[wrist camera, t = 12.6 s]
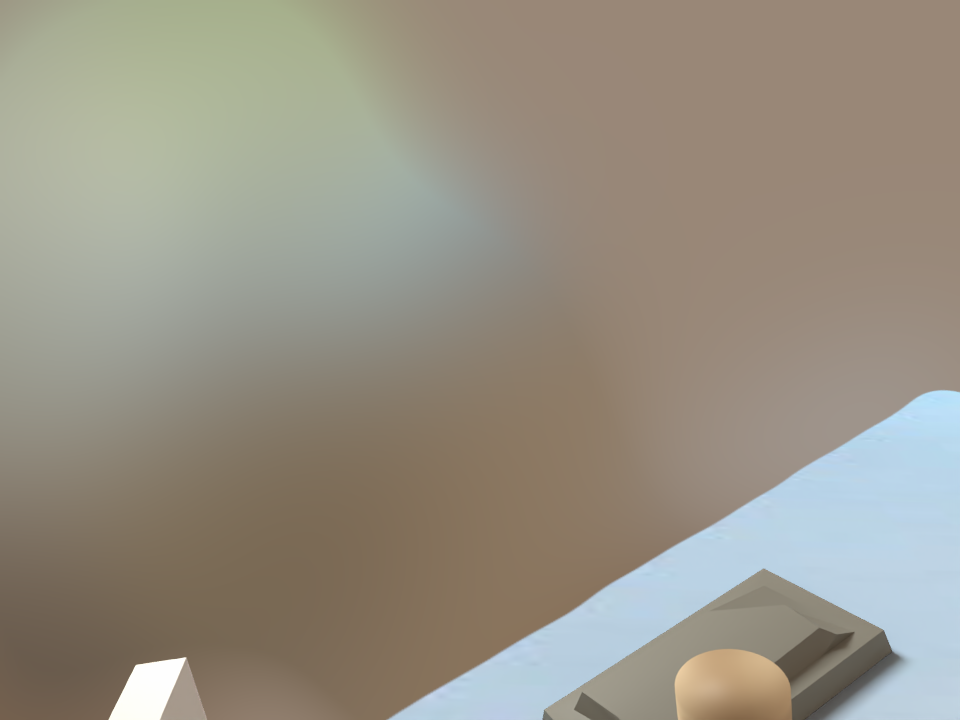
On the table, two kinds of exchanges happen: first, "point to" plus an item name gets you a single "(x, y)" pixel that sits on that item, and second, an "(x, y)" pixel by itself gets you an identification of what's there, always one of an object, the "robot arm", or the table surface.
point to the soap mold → (744, 626)
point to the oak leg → (732, 688)
